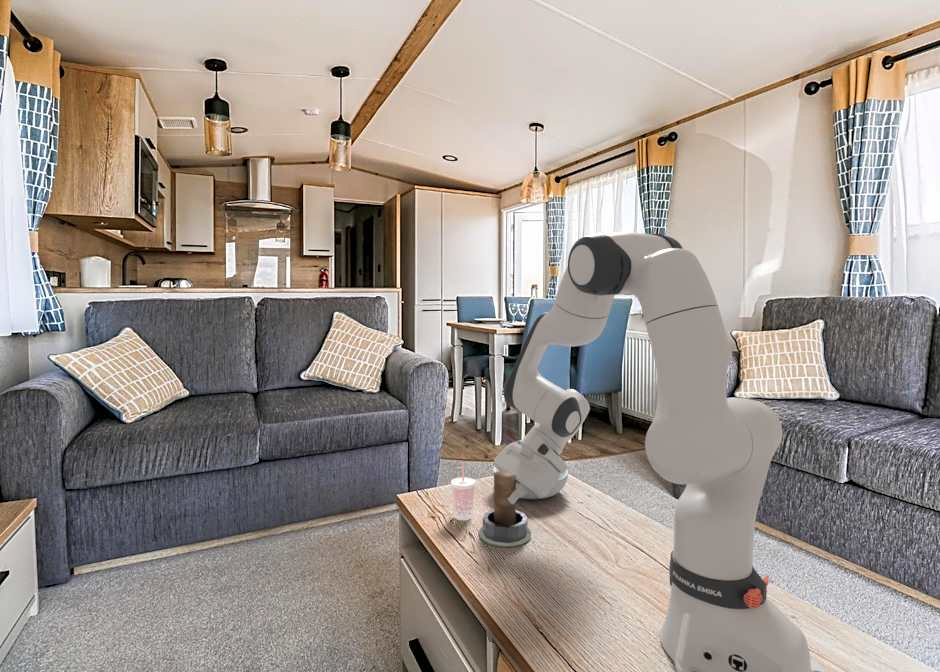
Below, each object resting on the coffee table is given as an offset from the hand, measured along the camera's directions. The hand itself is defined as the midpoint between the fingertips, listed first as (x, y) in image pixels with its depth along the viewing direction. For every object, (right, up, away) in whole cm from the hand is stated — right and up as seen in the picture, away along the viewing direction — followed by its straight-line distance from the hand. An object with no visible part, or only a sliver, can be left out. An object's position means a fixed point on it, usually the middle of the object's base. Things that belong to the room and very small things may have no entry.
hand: (502, 496), depth 118 cm
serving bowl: (+9, -7, +26) cm, 29 cm away
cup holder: (+1, -9, +1) cm, 9 cm away
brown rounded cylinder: (+1, -7, +1) cm, 7 cm away
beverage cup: (-9, -9, +11) cm, 17 cm away
